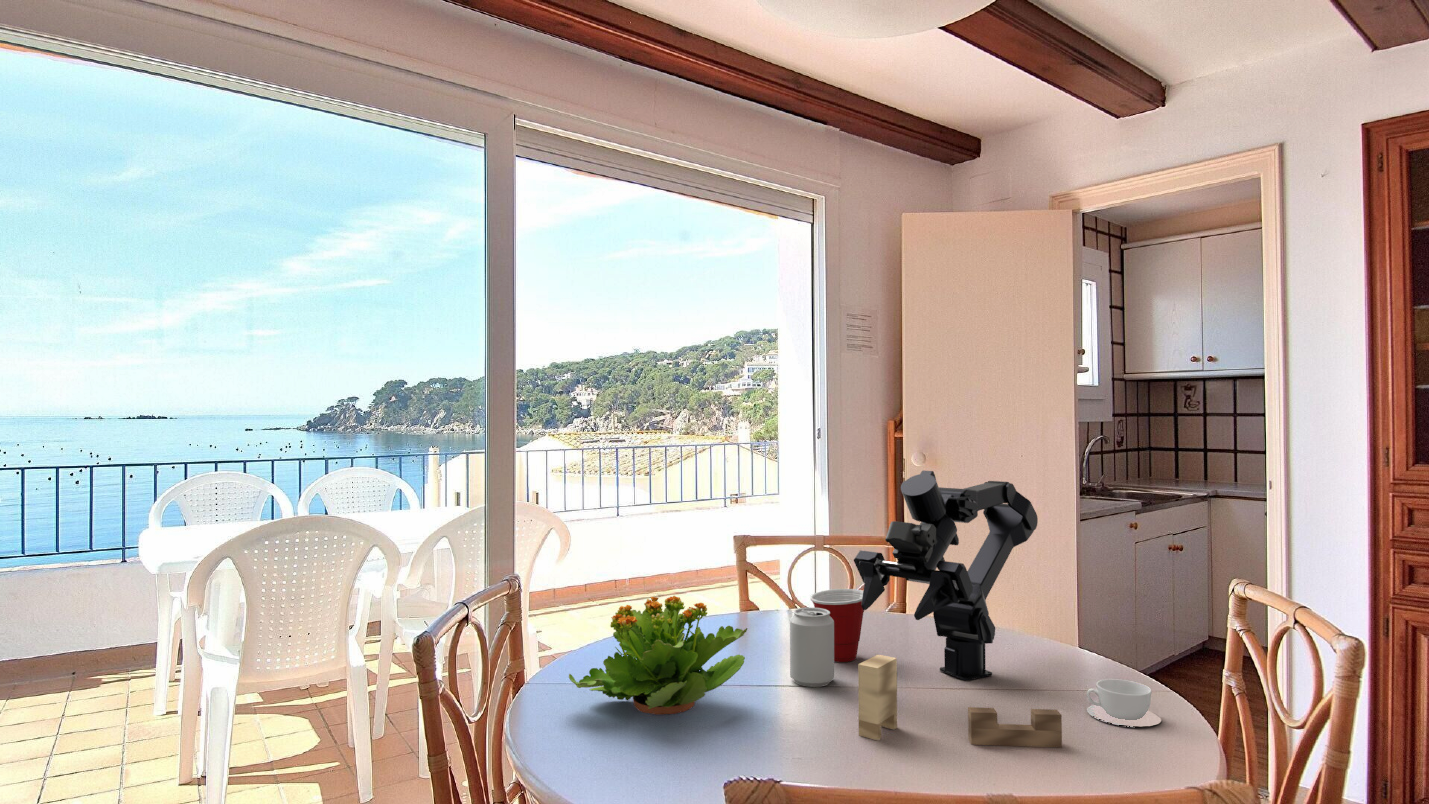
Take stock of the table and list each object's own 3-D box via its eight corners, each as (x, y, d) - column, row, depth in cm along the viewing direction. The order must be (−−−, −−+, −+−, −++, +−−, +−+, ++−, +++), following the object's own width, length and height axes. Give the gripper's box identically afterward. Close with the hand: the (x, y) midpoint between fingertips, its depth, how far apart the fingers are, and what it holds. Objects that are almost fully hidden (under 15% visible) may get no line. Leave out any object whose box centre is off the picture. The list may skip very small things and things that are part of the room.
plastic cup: (804, 650, 159) (804, 587, 159) (860, 648, 160) (859, 586, 160) (816, 667, 148) (816, 600, 148) (875, 665, 149) (875, 598, 149)
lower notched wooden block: (971, 744, 113) (971, 712, 113) (968, 738, 115) (968, 707, 115) (1061, 747, 112) (1061, 714, 112) (1057, 741, 114) (1056, 709, 114)
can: (832, 689, 136) (832, 616, 136) (787, 687, 138) (787, 614, 138) (835, 675, 143) (835, 606, 144) (792, 673, 145) (792, 604, 145)
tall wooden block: (878, 722, 121) (877, 654, 122) (897, 727, 120) (896, 658, 120) (858, 735, 117) (858, 664, 117) (878, 740, 115) (877, 668, 115)
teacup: (1154, 710, 127) (1154, 679, 127) (1167, 734, 117) (1167, 701, 117) (1083, 703, 130) (1083, 673, 130) (1090, 726, 120) (1090, 693, 121)
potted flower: (645, 671, 146) (645, 572, 146) (769, 691, 136) (769, 584, 136) (559, 718, 124) (559, 601, 124) (700, 746, 113) (700, 618, 113)
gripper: (864, 501, 138) (820, 566, 129) (969, 510, 126) (928, 583, 116) (885, 551, 143) (844, 617, 134) (988, 564, 130) (951, 638, 121)
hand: (888, 613), depth 126 cm, fingers open, 9 cm apart
